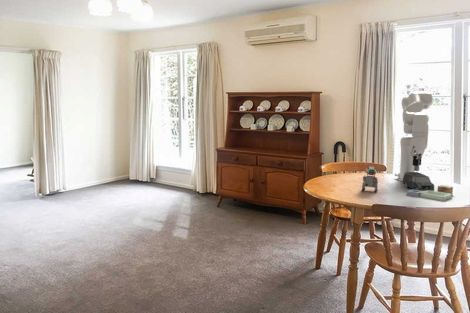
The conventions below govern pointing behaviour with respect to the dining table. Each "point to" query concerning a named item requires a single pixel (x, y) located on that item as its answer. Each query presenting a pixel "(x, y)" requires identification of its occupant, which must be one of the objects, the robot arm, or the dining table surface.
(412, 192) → the pin socket
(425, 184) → the toy van
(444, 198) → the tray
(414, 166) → the stop pin
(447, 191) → the chock
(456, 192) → the dining table surface
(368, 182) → the figurine
